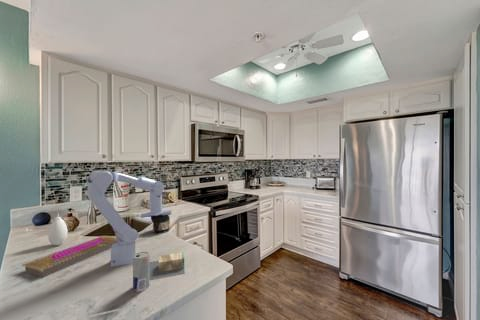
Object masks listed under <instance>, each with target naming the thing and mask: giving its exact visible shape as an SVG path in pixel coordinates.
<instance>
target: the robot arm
mask: <svg viewBox="0 0 480 320" xmlns="http://www.w3.org/2000/svg"><path fill="white" fill-rule="evenodd" d="M117 182H121V183H125V184H126V183H127V184H130V185H131V184H132V185H134V186H135V188H137V189H140V190H145V191H149V201H150V203H149V205H150V206H149V207H150V211H148V212H142V213H140V218H141V219H144V218H150V219H151V222H152V225H153V224H154V226H155V231H156V230H158V228H159V224H160V221H161V219H162V215H169V216H171V215H172V210H171V209H170V210H163V190H165V189H164V188H165V185H164V184H163V182H162V181H160V180H155V178H147V176H146V175H142V176H138V177H134V176H131V175H127V174H124V173H121V172H115V171H110V170H109V171H108V170H94V171H92V172H90V174H89V175H88V177H87V179H86V184H87V198H88V200H89V201H91V203H92V204H93V206H95V207H96V209H97V210H98V211H99V213H100V214H101V215H102V216H103V218H104V219H105V220H106V222H107V223H108V224H109V225H110V226H111V227H112V231H114V235H115V236H114V237H115V238H117V239H118V241H117V243H114V244H113V245H112V247H111V248H110V266H109V267H118V266H122V265H130V264H133V258H134V255H135V254H136V240H137V239H138V235H139V233H138V231H137V230H136V229H135V228H132V227H131V226H130V225H129V224H128V223H127V222H126V221H125V220H124V219H123V217H122V216H121V215H120V214H119V212H118V211H117V210H116V209H115V207H114V206H113V205H112V204H111V202H110V201H109V199H108V198H107V197H106V196H105V195H106V194H105V193H106V191H107V189H108V188H109V186H110V185H111V184H112V183H117ZM156 216H157V223H156Z"/></svg>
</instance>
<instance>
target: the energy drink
mask: <svg viewBox="0 0 480 320" xmlns="http://www.w3.org/2000/svg"><path fill="white" fill-rule="evenodd" d="M150 262H151V260H150V253H149V252H148V251H140V252H137V253H135V255H134V258H133V262H132V290H133V292H136V293H137V292H138V293H139V292H143V291H145V290H148V289H149V287H150V286H151V285H150V283H151V280H150Z"/></svg>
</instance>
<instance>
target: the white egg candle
mask: <svg viewBox="0 0 480 320" xmlns="http://www.w3.org/2000/svg"><path fill="white" fill-rule="evenodd" d="M68 232H69V231H68V226H67V224H66V222H65V220H64V219H62V216H60V214H59V212H57V217H55V218H54V220H53V221H52V222H51V225H50V226H49V228H48V235H47V238H48V241H49V242H50V244H51V245H53V246H61V245H62V244H63V243H64V242H65V241H66V240H67V237H68V234H69V233H68Z"/></svg>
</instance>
